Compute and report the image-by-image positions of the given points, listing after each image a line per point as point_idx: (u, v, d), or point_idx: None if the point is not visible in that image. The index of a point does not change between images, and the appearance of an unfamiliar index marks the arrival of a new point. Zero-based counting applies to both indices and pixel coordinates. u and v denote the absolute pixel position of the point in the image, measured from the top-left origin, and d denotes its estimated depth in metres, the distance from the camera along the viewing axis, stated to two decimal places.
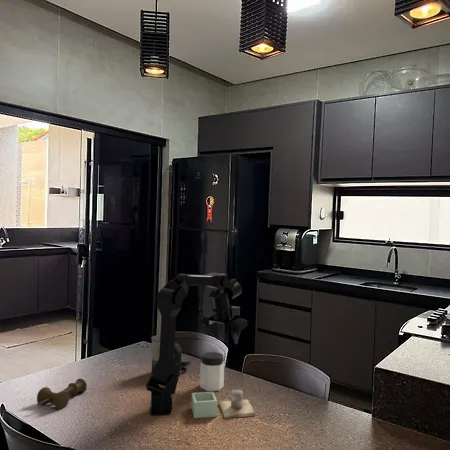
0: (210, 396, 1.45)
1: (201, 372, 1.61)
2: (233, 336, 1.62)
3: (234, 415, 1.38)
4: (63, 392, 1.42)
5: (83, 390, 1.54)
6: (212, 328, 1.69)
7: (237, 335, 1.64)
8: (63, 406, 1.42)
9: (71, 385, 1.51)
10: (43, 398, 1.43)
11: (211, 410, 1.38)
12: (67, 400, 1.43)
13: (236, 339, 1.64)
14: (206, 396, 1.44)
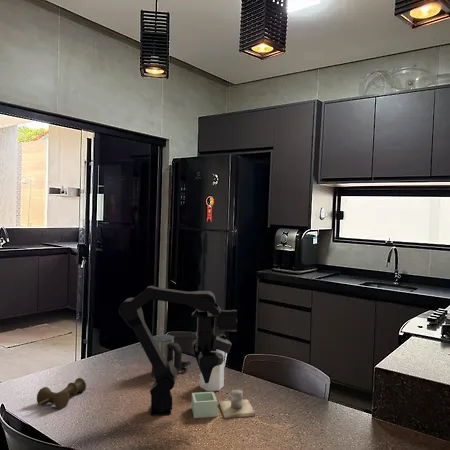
0: (210, 396, 1.45)
1: None
2: (200, 370, 1.35)
3: (234, 415, 1.38)
4: (63, 392, 1.42)
5: (82, 389, 1.54)
6: (197, 356, 1.45)
7: (207, 372, 1.35)
8: (63, 406, 1.42)
9: (70, 385, 1.51)
10: (43, 398, 1.43)
11: (211, 410, 1.38)
12: (67, 400, 1.43)
13: (205, 376, 1.36)
14: (206, 396, 1.44)
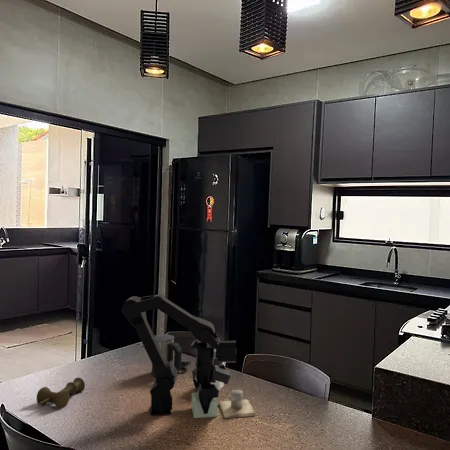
0: None
1: None
2: None
3: (234, 415, 1.38)
4: (64, 391, 1.42)
5: (81, 389, 1.55)
6: (197, 387, 1.45)
7: (206, 403, 1.36)
8: (64, 405, 1.42)
9: (70, 384, 1.51)
10: (43, 398, 1.43)
11: (211, 410, 1.38)
12: (67, 399, 1.44)
13: (204, 407, 1.36)
14: None
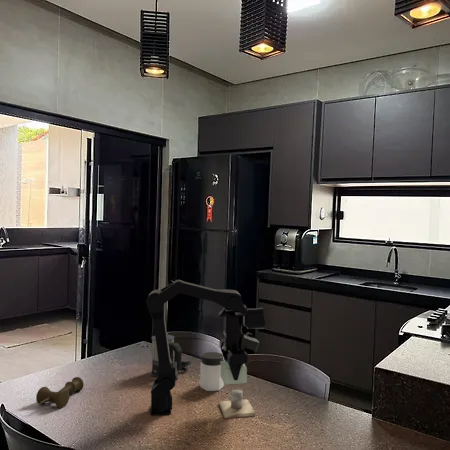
0: None
1: (201, 372, 1.61)
2: (230, 368, 1.38)
3: (234, 415, 1.38)
4: (64, 390, 1.43)
5: (80, 388, 1.55)
6: (225, 355, 1.46)
7: (236, 369, 1.38)
8: (64, 404, 1.43)
9: (69, 384, 1.52)
10: (43, 397, 1.43)
11: (241, 376, 1.39)
12: (67, 398, 1.44)
13: (234, 374, 1.38)
14: None
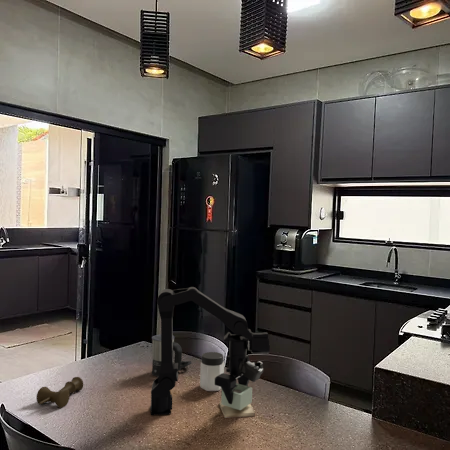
0: None
1: (201, 372, 1.61)
2: None
3: (234, 415, 1.38)
4: (64, 390, 1.43)
5: (80, 388, 1.55)
6: (239, 378, 1.48)
7: (228, 393, 1.39)
8: (64, 404, 1.43)
9: (69, 383, 1.52)
10: (43, 397, 1.43)
11: (235, 402, 1.39)
12: (68, 398, 1.45)
13: (227, 397, 1.40)
14: (244, 389, 1.45)
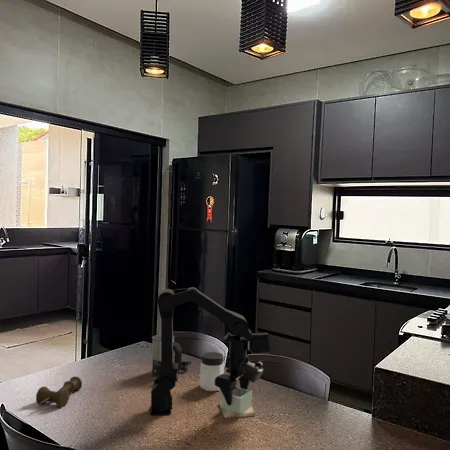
0: None
1: (201, 372, 1.61)
2: None
3: (234, 415, 1.38)
4: (64, 390, 1.43)
5: (78, 388, 1.56)
6: (240, 378, 1.48)
7: (227, 394, 1.38)
8: (64, 404, 1.43)
9: (67, 383, 1.52)
10: (43, 397, 1.43)
11: (235, 406, 1.39)
12: (68, 398, 1.45)
13: (226, 398, 1.39)
14: (244, 393, 1.45)
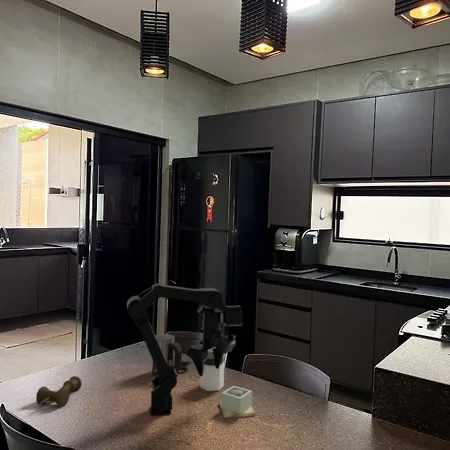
0: None
1: None
2: None
3: (234, 415, 1.38)
4: (64, 389, 1.44)
5: (78, 387, 1.56)
6: (214, 351, 1.50)
7: (199, 365, 1.40)
8: (65, 403, 1.44)
9: (67, 383, 1.53)
10: (43, 397, 1.44)
11: (235, 406, 1.39)
12: (68, 397, 1.45)
13: (198, 369, 1.41)
14: (244, 393, 1.45)
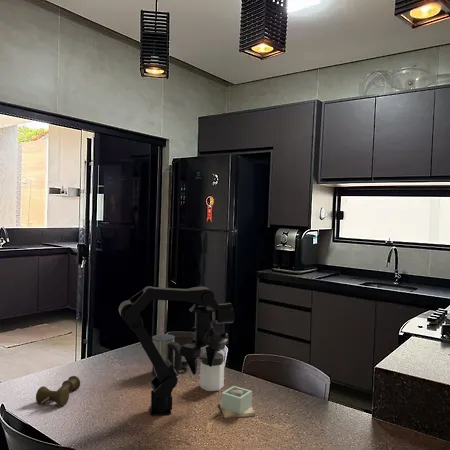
0: None
1: (201, 372, 1.61)
2: None
3: (234, 415, 1.38)
4: (64, 389, 1.44)
5: (77, 387, 1.56)
6: (207, 349, 1.51)
7: (192, 363, 1.41)
8: (65, 403, 1.44)
9: (66, 383, 1.53)
10: (43, 397, 1.44)
11: (235, 406, 1.39)
12: (68, 397, 1.46)
13: (191, 367, 1.42)
14: (244, 393, 1.45)
